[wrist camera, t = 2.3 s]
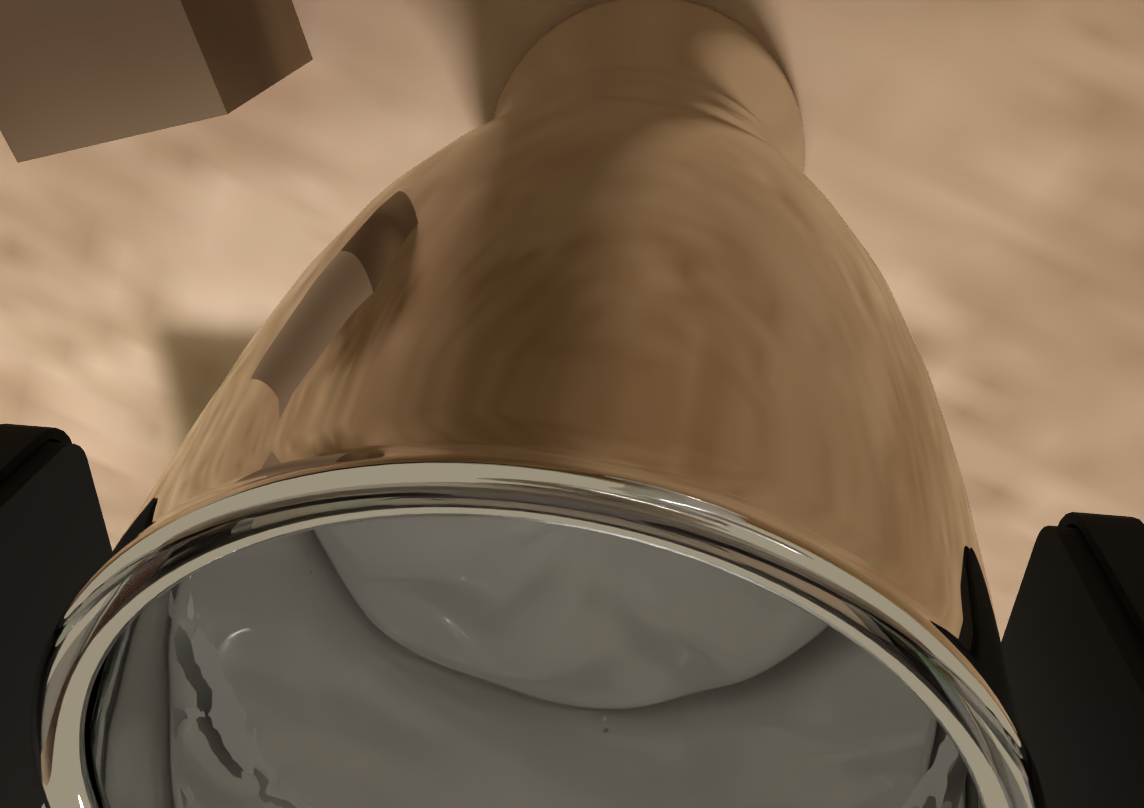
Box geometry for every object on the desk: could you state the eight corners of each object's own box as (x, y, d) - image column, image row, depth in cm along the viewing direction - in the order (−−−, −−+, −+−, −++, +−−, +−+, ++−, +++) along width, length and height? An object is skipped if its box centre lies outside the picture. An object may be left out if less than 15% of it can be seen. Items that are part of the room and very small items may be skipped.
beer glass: (413, 210, 20) (-91, 901, 7) (583, -116, 17) (177, 148, 4) (692, 375, 21) (667, 1207, 9) (906, 104, 18) (1390, 843, 5)
